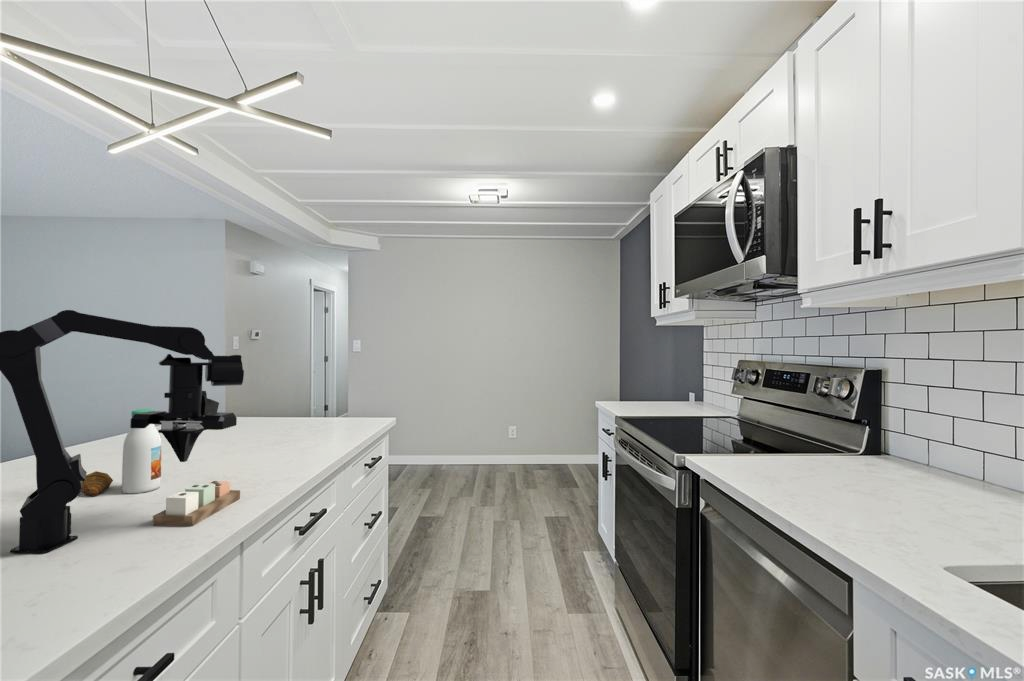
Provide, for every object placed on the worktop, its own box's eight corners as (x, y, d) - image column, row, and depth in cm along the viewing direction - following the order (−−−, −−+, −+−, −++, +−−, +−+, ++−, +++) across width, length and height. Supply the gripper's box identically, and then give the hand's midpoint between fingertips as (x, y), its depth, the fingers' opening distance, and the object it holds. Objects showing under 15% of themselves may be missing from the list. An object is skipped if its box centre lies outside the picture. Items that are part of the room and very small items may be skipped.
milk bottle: (139, 495, 114) (141, 412, 115) (113, 493, 116) (115, 411, 116) (168, 486, 122) (170, 408, 122) (143, 483, 124) (145, 407, 124)
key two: (203, 507, 103) (203, 488, 103) (184, 507, 103) (185, 488, 103) (214, 501, 107) (215, 483, 107) (196, 501, 107) (197, 482, 107)
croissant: (80, 486, 121) (80, 467, 122) (114, 482, 126) (115, 463, 126) (73, 501, 111) (73, 480, 111) (111, 496, 115) (111, 475, 115)
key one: (185, 517, 97) (185, 497, 97) (165, 517, 97) (166, 496, 97) (198, 510, 101) (198, 490, 101) (179, 510, 101) (179, 490, 101)
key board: (192, 526, 96) (192, 516, 96) (152, 525, 96) (153, 515, 96) (240, 498, 113) (240, 490, 113) (206, 498, 113) (206, 489, 113)
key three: (219, 504, 108) (219, 485, 108) (201, 503, 108) (202, 485, 108) (229, 498, 112) (229, 480, 112) (212, 498, 112) (213, 480, 112)
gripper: (251, 384, 108) (249, 453, 108) (168, 383, 107) (165, 452, 107) (222, 389, 97) (219, 466, 96) (129, 387, 96) (126, 464, 96)
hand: (183, 461), depth 99 cm, fingers closed
